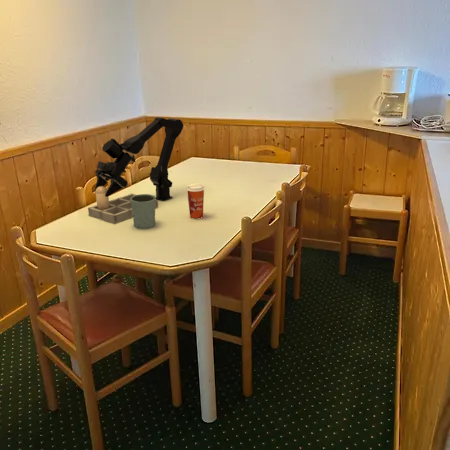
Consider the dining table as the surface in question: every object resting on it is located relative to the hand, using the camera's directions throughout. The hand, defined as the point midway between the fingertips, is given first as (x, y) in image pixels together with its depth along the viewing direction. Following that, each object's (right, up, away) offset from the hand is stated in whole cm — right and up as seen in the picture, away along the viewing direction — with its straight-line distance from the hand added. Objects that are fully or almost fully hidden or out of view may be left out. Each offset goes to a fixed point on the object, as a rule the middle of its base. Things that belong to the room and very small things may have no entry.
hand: (100, 193), depth 190 cm
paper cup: (+42, -10, +1) cm, 43 cm away
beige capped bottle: (+1, -8, +4) cm, 9 cm away
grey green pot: (+21, -14, -8) cm, 26 cm away
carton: (+9, -7, +8) cm, 14 cm away
